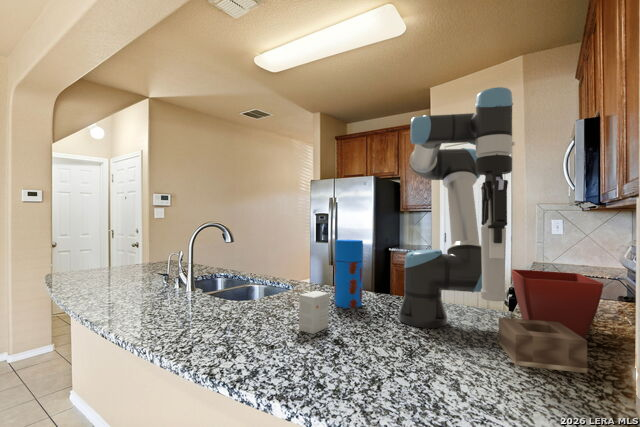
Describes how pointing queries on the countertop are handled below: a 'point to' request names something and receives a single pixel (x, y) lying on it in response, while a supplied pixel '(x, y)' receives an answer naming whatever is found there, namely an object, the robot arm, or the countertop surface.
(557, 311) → the plant pot
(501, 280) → the bottle
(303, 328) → the small box
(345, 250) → the thermos
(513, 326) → the socket block
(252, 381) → the countertop surface
